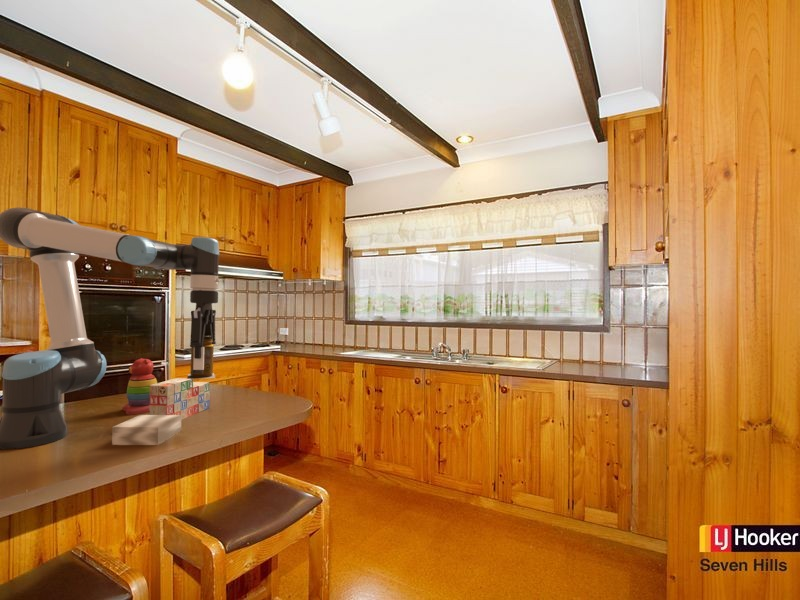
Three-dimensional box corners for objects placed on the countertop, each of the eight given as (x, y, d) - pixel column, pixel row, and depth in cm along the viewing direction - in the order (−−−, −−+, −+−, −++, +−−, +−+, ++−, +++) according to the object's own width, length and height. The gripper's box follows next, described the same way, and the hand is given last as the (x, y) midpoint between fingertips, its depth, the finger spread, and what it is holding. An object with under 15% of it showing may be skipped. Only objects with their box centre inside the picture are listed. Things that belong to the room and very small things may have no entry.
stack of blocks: (193, 407, 150) (194, 373, 150) (209, 408, 149) (210, 373, 149) (148, 424, 129) (149, 384, 129) (166, 425, 128) (167, 385, 128)
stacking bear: (121, 409, 146) (121, 358, 146) (154, 404, 153) (154, 356, 153) (126, 415, 138) (127, 361, 138) (161, 410, 145) (162, 359, 145)
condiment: (214, 373, 129) (215, 334, 129) (215, 378, 122) (216, 336, 122) (187, 375, 126) (188, 335, 126) (187, 379, 118) (188, 337, 118)
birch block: (112, 446, 110) (112, 427, 110) (139, 432, 122) (140, 414, 122) (157, 446, 110) (158, 427, 110) (181, 432, 122) (181, 415, 122)
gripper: (206, 289, 116) (204, 373, 116) (227, 291, 135) (226, 363, 135) (177, 288, 115) (175, 373, 115) (203, 290, 134) (201, 363, 134)
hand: (202, 367), depth 125 cm, fingers closed on condiment, 6 cm apart
